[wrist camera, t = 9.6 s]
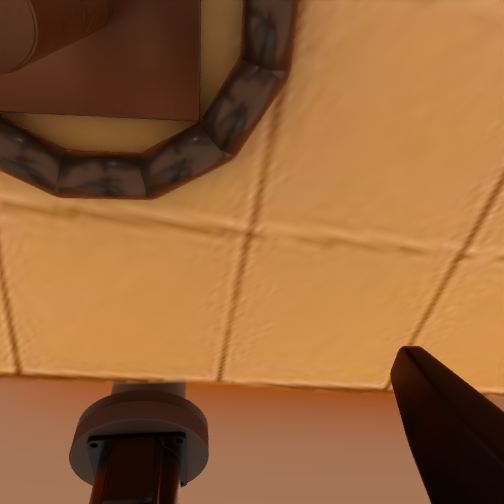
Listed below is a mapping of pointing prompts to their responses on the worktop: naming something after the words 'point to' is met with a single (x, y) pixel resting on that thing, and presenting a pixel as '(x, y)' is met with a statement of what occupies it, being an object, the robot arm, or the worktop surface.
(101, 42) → the post
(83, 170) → the ring
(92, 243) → the worktop surface
